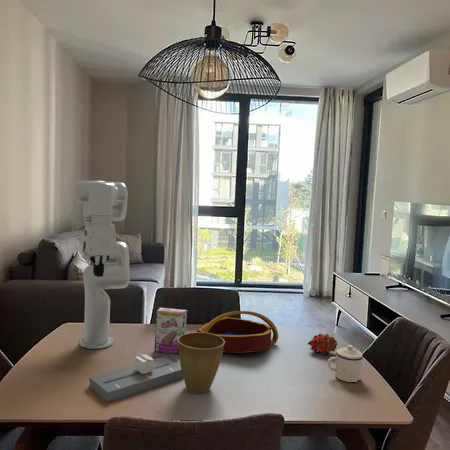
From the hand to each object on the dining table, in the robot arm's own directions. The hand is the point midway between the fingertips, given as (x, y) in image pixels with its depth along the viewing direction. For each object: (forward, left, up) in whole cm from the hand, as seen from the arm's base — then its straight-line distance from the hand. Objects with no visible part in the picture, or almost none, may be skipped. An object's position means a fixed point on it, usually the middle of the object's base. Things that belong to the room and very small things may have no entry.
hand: (98, 275), depth 141 cm
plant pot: (+29, +21, -33) cm, 49 cm away
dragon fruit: (+35, +80, -33) cm, 93 cm away
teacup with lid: (+53, +67, -33) cm, 92 cm away
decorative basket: (+10, +57, -34) cm, 67 cm away
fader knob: (+14, +10, -30) cm, 34 cm away
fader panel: (+14, +8, -33) cm, 37 cm away
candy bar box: (-1, +31, -33) cm, 46 cm away
